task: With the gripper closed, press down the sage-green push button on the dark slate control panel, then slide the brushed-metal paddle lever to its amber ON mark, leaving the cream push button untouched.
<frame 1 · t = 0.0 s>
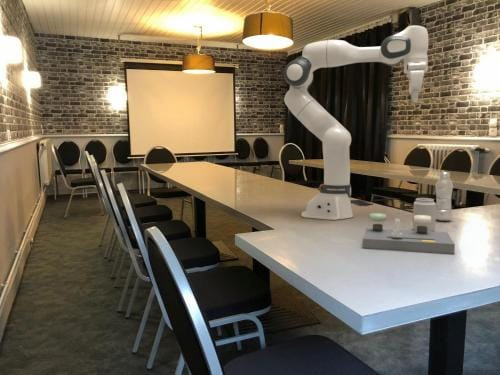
hand: (414, 103, 167), 48 cm above the table, fingers open, 8 cm apart
plastic bottle: (442, 221, 169), on the table
phone: (360, 204, 216), on the table
control panel: (406, 244, 134), on the table
can: (423, 231, 152), on the table
paddle lever: (397, 228, 130), point 6 cm above the table, slide at 0.0 cm
cream button: (422, 219, 136), point 8 cm above the table, slide at 0.0 cm
sage button: (377, 217, 140), point 8 cm above the table, slide at 0.0 cm
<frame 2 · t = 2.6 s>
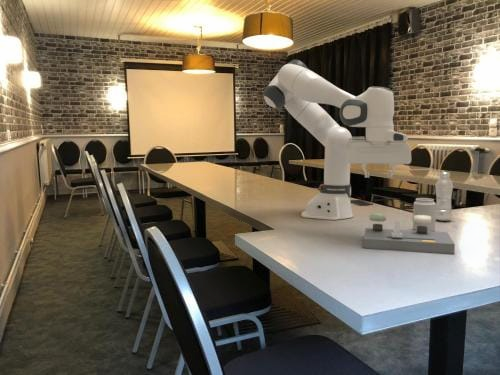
hand: (378, 177, 139), 21 cm above the table, fingers open, 6 cm apart
nothing on the table moved.
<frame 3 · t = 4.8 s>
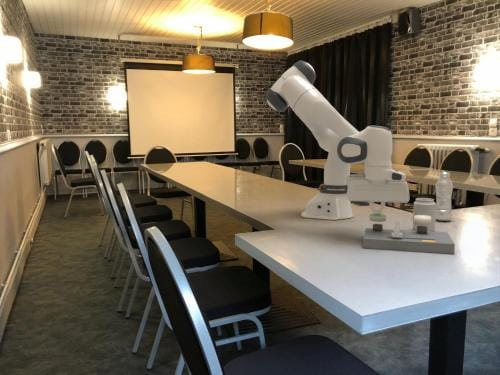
hand: (377, 214, 140), 8 cm above the table, fingers closed, pressing on sage button
sage button: (377, 217, 140), point 8 cm above the table, slide at 0.1 cm, touching gripper
everything else where it was.
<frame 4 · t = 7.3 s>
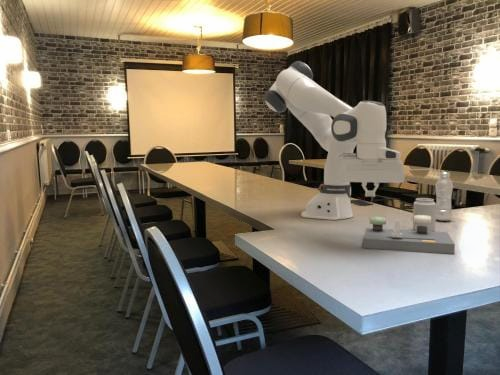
hand: (370, 196, 132), 16 cm above the table, fingers closed
sage button: (377, 220, 141), point 6 cm above the table, slide at 1.2 cm
everything else where it was.
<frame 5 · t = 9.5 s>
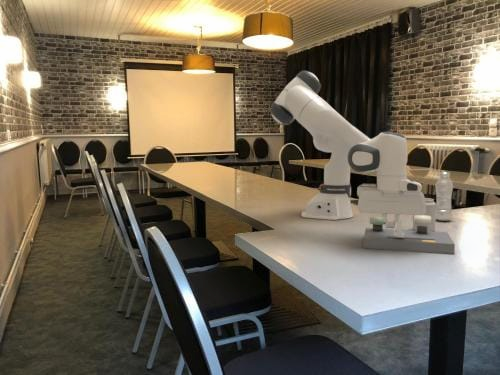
hand: (390, 227, 131), 6 cm above the table, fingers closed
paddle lever: (399, 228, 130), point 6 cm above the table, slide at 0.6 cm, touching gripper
everything else where it was.
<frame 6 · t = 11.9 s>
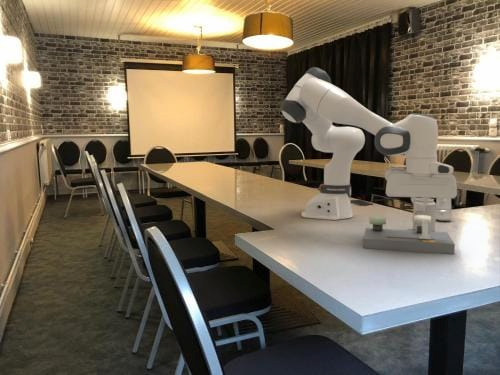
hand: (419, 211, 128), 12 cm above the table, fingers closed
paddle lever: (424, 229, 128), point 6 cm above the table, slide at 8.1 cm
everything else where it was.
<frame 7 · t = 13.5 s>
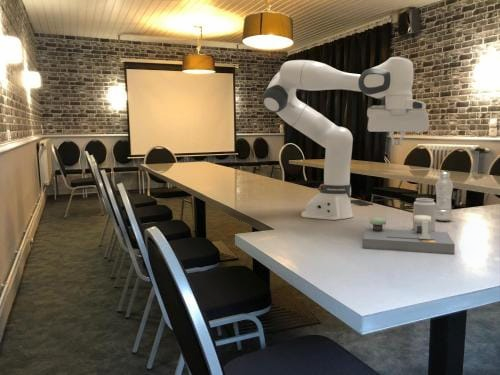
hand: (396, 144, 146), 32 cm above the table, fingers closed
nothing on the table moved.
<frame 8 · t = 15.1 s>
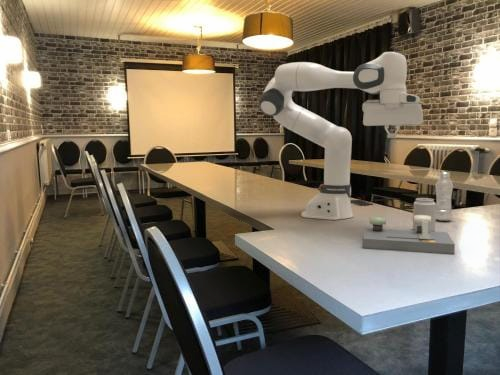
hand: (391, 138, 148), 34 cm above the table, fingers closed
nothing on the table moved.
at the end: sage button slide at 1.2 cm; paddle lever slide at 8.1 cm; cream button slide at 0.0 cm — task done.
